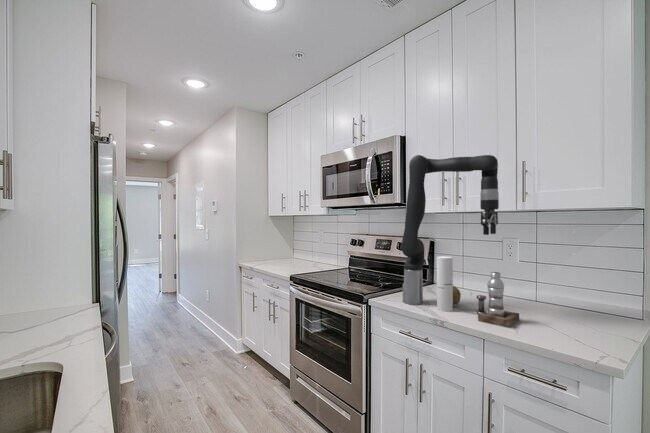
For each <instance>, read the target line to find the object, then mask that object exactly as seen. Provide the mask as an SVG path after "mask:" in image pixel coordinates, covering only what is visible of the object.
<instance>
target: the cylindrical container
mask: <svg viewBox="0 0 650 433" xmlns="http://www.w3.org/2000/svg"><path fill="white" fill-rule="evenodd" d="M453 265H454V262H453V257H452V256H445V255H444V256H443V255H442V256H436V310H437V311H440V312H453V311H454V306H453V286H454V282H453V279H454V278H453V270H454V269H453V267H454V266H453Z"/></svg>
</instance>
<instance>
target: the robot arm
mask: <svg viewBox="0 0 650 433" xmlns="http://www.w3.org/2000/svg"><path fill="white" fill-rule="evenodd" d="M408 164H409V166H408V169H409V170H408V172H409V175H408V176H409V181H408V182H409V183H408V190H407V198H406V199H407V200H406V210H405V211H406V213H405V218H404V220H405V221H404V230H403V236H402V241H401V252H402V254H403V255H404V256H405V257H406V261H405V262H404V264H403V283H402V303H405V304H407V305H414V306H415V305H416V306H417V305H418V306H419V305H422V304H423V303H424V302H423V301H424V300H423V299H424V291H423V290H424V288H423V287H424V285H423V284H424V282H423V281H424V280H423V279H424V277H423V275H424V274H423V268H424V267H423V266H424V263H425V245H424V242H423V241H422V240H421V239H420V238H419V229H420V227H421V224H422V222H423V219H424V217H425V213H426V200H427V199H426V192H425V191H426V190H425V178H426V174H430V173H431V174H432V173H442V172H443V173H444V172H446V173H447V172H450V173H451V172H452V173H453V172H456V173H457V172H459V173H460V172H461V173H466V172H468V173H469V172H473V171H481V180H480V197H479V198H480V210H483V211H481V212H480V225H481V226H482V227H483V228H482V231H483V233H482V234H483V235H485V236H486V235H487V236H488V235H490V234H491V235H496V234H497V226H498V224H499V213H498V211H495V210H499V206H500V204H499V202H500V200H499V198H500V197H499V196H500V195H499V181H498V170H499V169H498V168H499V164H498V158H497V156H494V155H492V154H484V155H477V156H458V157H457V156H455V157H450V158H440V159H435V158H427V157H425V156H424V155H419V154H418V155H414V156H413V157H412V158H411V159H410V161H409V163H408Z"/></svg>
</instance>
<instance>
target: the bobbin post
mask: <svg viewBox="0 0 650 433" xmlns="http://www.w3.org/2000/svg"><path fill="white" fill-rule="evenodd" d="M476 299H477V300H478V310H476V314H477V315H478V314H479V313H483V314H487V311H485V300H487V296H486V295H482V294H481V295H480V294H479V295H476Z"/></svg>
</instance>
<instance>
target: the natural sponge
mask: <svg viewBox="0 0 650 433" xmlns="http://www.w3.org/2000/svg"><path fill="white" fill-rule="evenodd" d="M461 294H462V293H461V291H460V289H459V288H458V287H456V286H455V285H453V307H454V306H456V305H459V303H460V302H461V296H462V295H461Z"/></svg>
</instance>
